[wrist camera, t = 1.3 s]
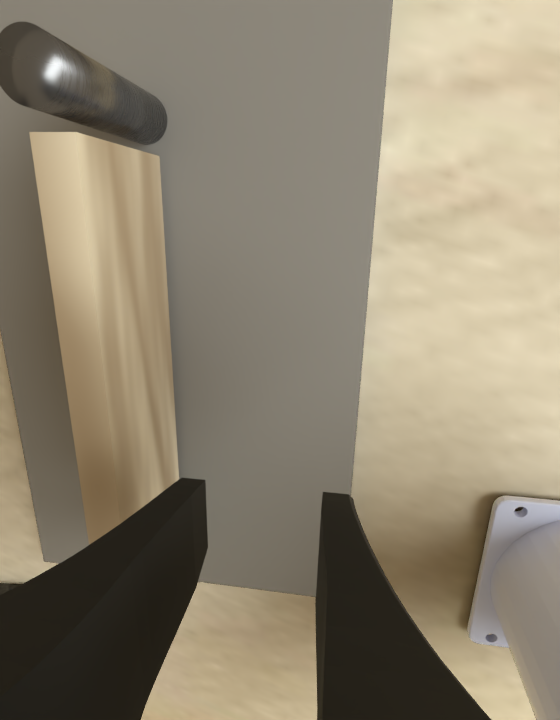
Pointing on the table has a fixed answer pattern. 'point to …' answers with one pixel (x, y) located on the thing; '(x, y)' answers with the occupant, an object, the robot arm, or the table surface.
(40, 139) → the gate
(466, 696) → the robot arm
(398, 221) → the table surface
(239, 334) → the gate board
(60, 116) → the hinge post
